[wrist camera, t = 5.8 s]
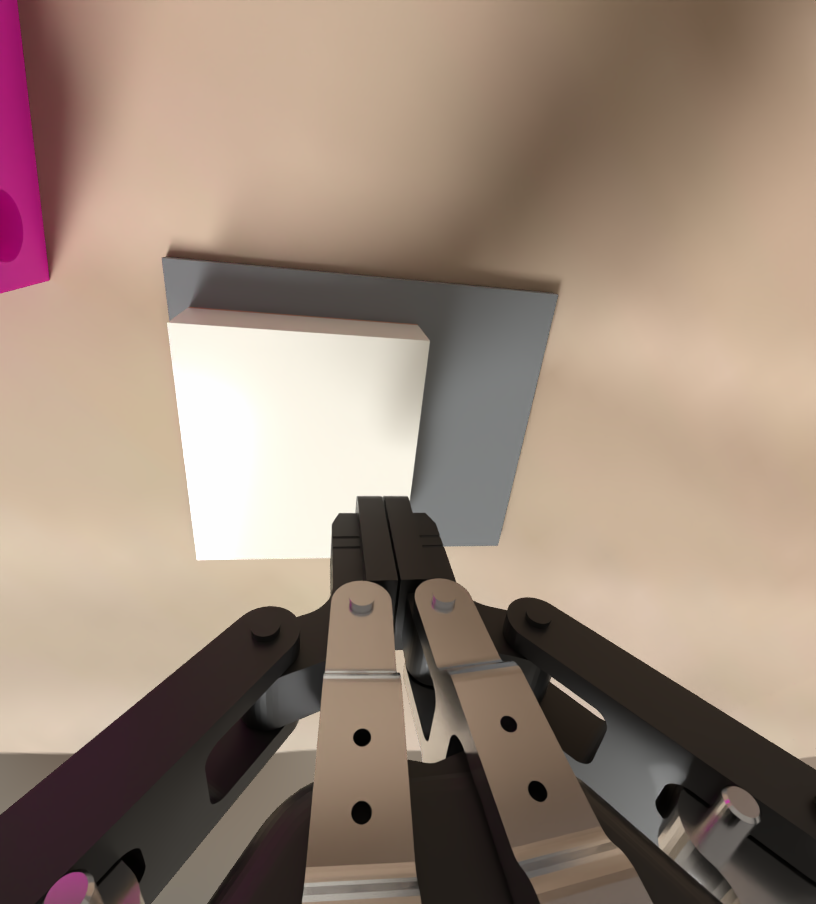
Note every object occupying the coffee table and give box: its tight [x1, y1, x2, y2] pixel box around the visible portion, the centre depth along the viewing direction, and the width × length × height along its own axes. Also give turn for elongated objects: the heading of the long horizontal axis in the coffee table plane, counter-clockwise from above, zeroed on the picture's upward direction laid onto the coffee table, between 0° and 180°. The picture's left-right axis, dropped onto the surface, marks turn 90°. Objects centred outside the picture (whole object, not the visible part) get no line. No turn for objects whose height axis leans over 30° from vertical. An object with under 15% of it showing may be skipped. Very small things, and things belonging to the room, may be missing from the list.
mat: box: [162, 257, 558, 546], centre depth 19 cm, size 14×12×1 cm
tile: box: [167, 307, 430, 560], centre depth 18 cm, size 2×9×8 cm
